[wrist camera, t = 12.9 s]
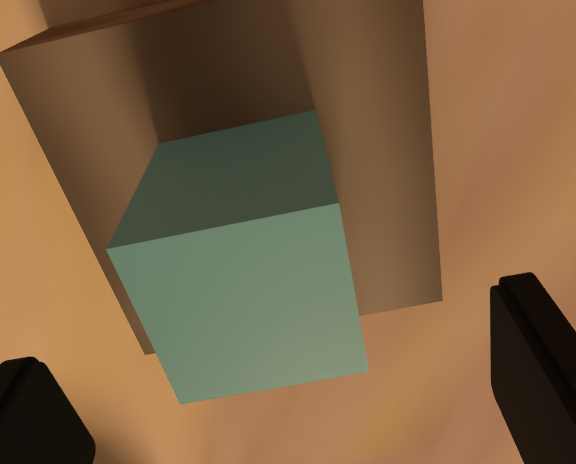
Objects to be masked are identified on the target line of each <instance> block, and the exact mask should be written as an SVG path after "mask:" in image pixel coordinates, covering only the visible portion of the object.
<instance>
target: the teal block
mask: <svg viewBox="0 0 576 464" xmlns="http://www.w3.org/2000/svg"><path fill="white" fill-rule="evenodd" d="M106 250H107V252H108V254H109V256H110V259H111V261H112V263H113V265H114V267H115V269H116V271H117V273H118V275H119V277H120V279H121V282H122V284H123V286H124V288H125V290H126V292H127V294H128V296H129V298H130V300H131V302H132V304H133V307H134V309H135V311H136V313H137V315H138V317H139V319H140V321H141V323H142V325H143V327H144V329H145V332H146V334H147V336H148V338H149V340H150V342H151V344H152V346H153V348H154V350H155V352H156V354H157V357H158V359H159V361H160V363H161V365H162V367H163V369H164V371H165V373H166V375H167V377H168V380H169V382H170V384H171V386H172V388H173V390H174V392H175V394H176V396H177V398H178V400H179V402H180V404H186V403H191V402H197V401H203V400H209V399H215V398H221V397H226V396H232V395H238V394H244V393H250V392H256V391H261V390H267V389H273V388H279V387H285V386H291V385H296V384H302V383H308V382H314V381H320V380H326V379H331V378H337V377H343V376H349V375H355V374H361V373H366V372H369V368H368V363H367V357H366V351H365V346H364V340H363V335H362V329H361V323H360V318H359V312H358V307H357V301H356V295H355V290H354V284H353V279H352V273H351V267H350V262H349V256H348V250H347V245H346V239H345V234H344V228H343V222H342V217H341V211H340V206H339V201H338V197H337V193H336V189H335V185H334V181H333V177H332V173H331V169H330V165H329V161H328V157H327V153H326V149H325V145H324V141H323V137H322V133H321V129H320V125H319V121H318V117H317V113H316V110H313V111H309V112H304V113H299V114H295V115H290V116H285V117H281V118H276V119H271V120H267V121H262V122H257V123H253V124H248V125H243V126H239V127H234V128H230V129H225V130H220V131H216V132H211V133H206V134H202V135H197V136H192V137H188V138H183V139H178V140H174V141H169V142H164V143H160V144H158V146H157V148H156V150H155V152H154V154H153V156H152V158H151V160H150V162H149V164H148V166H147V168H146V170H145V172H144V174H143V176H142V178H141V180H140V182H139V184H138V186H137V188H136V190H135V192H134V194H133V196H132V198H131V200H130V202H129V204H128V206H127V208H126V210H125V212H124V214H123V216H122V218H121V220H120V222H119V224H118V226H117V228H116V230H115V232H114V234H113V236H112V238H111V240H110V242H109V244H108V246H107V248H106Z"/></svg>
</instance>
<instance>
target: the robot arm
mask: <svg viewBox="0 0 576 464" xmlns="http://www.w3.org/2000/svg"><path fill="white" fill-rule="evenodd" d="M490 335H491V385H492V390H493V393H494V397H495V399H496V402H497V404H498V406H499V408H500V410H501V413H502V415H503V417H504V419H505V422H506V424H507V426H508V428H509V431H510V433H511V435H512V437H513V439H514V442H515V444H516V446H517V448H518V451H519V453H520V455H521V457H522V460H523V462H524V464H576V331H575V330H574V329H573V327H572V326H571V324H570V323H569V322H568V320H567V319H566V318H565V316H564V315H563V313H562V312H561V311H560V309H559V308H558V306H557V305H556V304H555V302H554V301H553V299H552V298H551V297H550V295H549V294H548V293H547V291H546V290H545V288H544V287H543V286H542V284H541V283H540V281H539V280H538V279H537V277H536V276H535V275H534V274H533V273H531V272H528V273H522V274H516V275H510V276H504V277H501V278H500V280H499V285H496V286H492V287H491V289H490ZM95 451H96V449H95V442H94V440H93V438H92V436H91V435H90V433H89V431H88V430H87V428H86V427H85V425H84V424H83V422H82V420H81V419H80V417H79V416H78V414H77V413H76V411H75V409H74V408H73V406H72V405H71V403H70V402H69V400H68V398H67V397H66V395H65V394H64V392H63V391H62V389H61V387H60V386H59V384H58V383H57V381H56V380H55V378H54V376H53V375H52V373H51V372H50V370H49V369H48V367H47V366H46V364H45V363H43V362H39V361H38V360H37V359H36V358H34V357H24V358H18V359H13V360H7V361H4V362H2V363H1V364H0V464H92V463H93V460H94V457H95Z"/></svg>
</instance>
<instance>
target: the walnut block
mask: <svg viewBox="0 0 576 464" xmlns="http://www.w3.org/2000/svg"><path fill="white" fill-rule="evenodd" d="M0 65H1V67H2V69H3V71H4V73H5V75H6V77H7V79H8V81H9V83H10V85H11V87H12V89H13V91H14V93H15V95H16V97H17V99H18V101H19V103H20V105H21V107H22V109H23V111H24V113H25V115H26V117H27V119H28V121H29V123H30V125H31V127H32V129H33V131H34V133H35V135H36V137H37V139H38V141H39V143H40V145H41V147H42V149H43V151H44V153H45V155H46V157H47V159H48V161H49V163H50V165H51V167H52V169H53V171H54V173H55V175H56V177H57V179H58V181H59V183H60V185H61V187H62V189H63V191H64V193H65V195H66V197H67V199H68V201H69V203H70V205H71V207H72V209H73V211H74V213H75V215H76V217H77V219H78V221H79V223H80V225H81V227H82V229H83V231H84V233H85V235H86V237H87V239H88V241H89V243H90V246H91V248H92V250H93V252H94V254H95V256H96V258H97V260H98V262H99V264H100V266H101V268H102V270H103V272H104V274H105V276H106V278H107V280H108V282H109V284H110V286H111V288H112V290H113V292H114V294H115V296H116V298H117V300H118V302H119V304H120V306H121V308H122V310H123V312H124V314H125V316H126V318H127V320H128V322H129V324H130V326H131V328H132V330H133V332H134V334H135V336H136V338H137V340H138V342H139V344H140V346H141V348H142V350H143V352H144V354H145V355H147V354H153V353H156V352H155V350H154V348H153V346H152V344H151V342H150V340H149V338H148V336H147V334H146V332H145V329H144V327H143V325H142V323H141V321H140V319H139V317H138V315H137V313H136V311H135V309H134V307H133V304H132V302H131V300H130V298H129V296H128V294H127V292H126V290H125V288H124V286H123V284H122V282H121V279H120V277H119V275H118V273H117V271H116V269H115V267H114V265H113V263H112V261H111V259H110V256H109V254H108V252H107V250H106V248H107V246H108V244H109V242H110V240H111V238H112V236H113V234H114V232H115V230H116V228H117V226H118V224H119V222H120V220H121V218H122V216H123V214H124V212H125V210H126V208H127V206H128V204H129V202H130V200H131V198H132V196H133V194H134V192H135V190H136V188H137V186H138V184H139V182H140V180H141V178H142V176H143V174H144V172H145V170H146V168H147V166H148V164H149V162H150V160H151V158H152V156H153V154H154V152H155V150H156V148H157V146H158V144H160V143H164V142H169V141H174V140H178V139H183V138H188V137H192V136H197V135H202V134H206V133H211V132H216V131H220V130H225V129H230V128H234V127H239V126H243V125H248V124H253V123H257V122H262V121H267V120H271V119H276V118H281V117H285V116H290V115H295V114H299V113H304V112H309V111H313V110H316V113H317V117H318V121H319V125H320V129H321V133H322V137H323V141H324V145H325V149H326V153H327V157H328V161H329V165H330V169H331V173H332V177H333V181H334V185H335V189H336V193H337V197H338V201H339V206H340V211H341V217H342V222H343V228H344V234H345V239H346V245H347V250H348V256H349V262H350V267H351V273H352V279H353V284H354V290H355V295H356V301H357V307H358V312H359V316H361V315H367V314H372V313H378V312H383V311H389V310H394V309H400V308H405V307H411V306H416V305H422V304H427V303H433V302H438V301H443V299H442V284H441V269H440V254H439V239H438V223H437V208H436V193H435V178H434V163H433V147H432V132H431V117H430V102H429V87H428V72H427V56H426V41H425V26H424V11H423V0H167V1H163V2H159V3H154V4H150V5H146V6H142V7H138V8H134V9H130V10H125V11H121V12H117V13H113V14H109V15H105V16H100V17H96V18H92V19H88V20H84V21H80V22H75V23H71V24H67V25H63V26H59V27H55V28H51V29H47V30H45V31H43V32H41V33H39V34H37V35H35V36H33V37H31V38H29V39H26V40H24V41H22V42H20V43H18V44H16V45H14V46H12V47H10V48H8V49H6V50H4V51H2V52H0Z"/></svg>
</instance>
